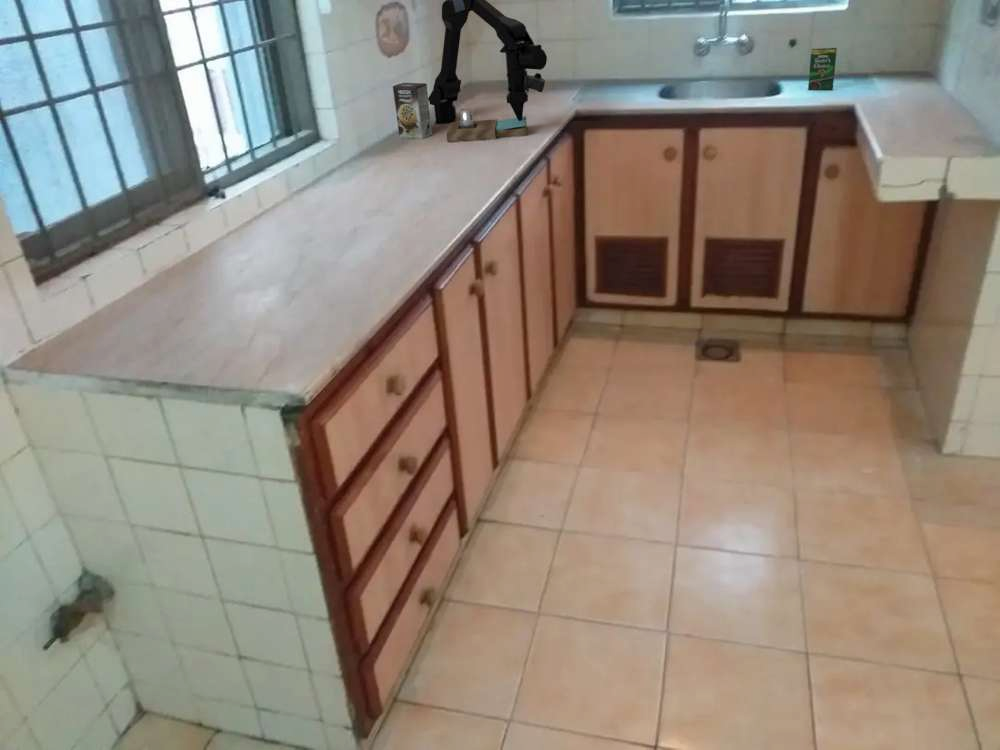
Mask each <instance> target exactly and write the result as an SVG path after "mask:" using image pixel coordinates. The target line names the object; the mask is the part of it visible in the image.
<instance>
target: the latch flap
mask: <svg viewBox="0 0 1000 750" xmlns="http://www.w3.org/2000/svg"><path fill="white" fill-rule="evenodd" d="M526 123H527V115H526V116H525V115H524V116H523V115H522V121H518V119H517V117H511V118H505V119H500V120H498V123H497V127H496V130H503V129H509V128H515V127H522V126H525V125H526Z"/></svg>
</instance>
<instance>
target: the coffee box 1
mask: <svg viewBox="0 0 1000 750" xmlns="http://www.w3.org/2000/svg"><path fill="white" fill-rule="evenodd" d="M392 89H393V90H392V91H393V98H394V108H395V115H396V120H397V129H398V137H399V139H412V138H415V139H416V138H418V139H416V140H424V139H426V138H427V136H428V137H430V136H432V135H433V132H432V124H431V123H432V122H431V113H430V103H429V100H428V98H429V95H428V94H429V93H428V84H427V83H424V82H423V83H422V82H420V83H419V82H401V83H398V84H395V85H393V86H392ZM429 135H430V136H429ZM425 137H426V138H425ZM423 138H424V139H423ZM415 139H414V140H415Z"/></svg>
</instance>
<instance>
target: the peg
mask: <svg viewBox="0 0 1000 750" xmlns="http://www.w3.org/2000/svg"><path fill="white" fill-rule="evenodd" d="M459 113H460V122H461V126H462V129H466V128H474V121H475V120H474V110H473V108H471V107H470V108H462V109H460V110H459Z"/></svg>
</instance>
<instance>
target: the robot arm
mask: <svg viewBox="0 0 1000 750" xmlns="http://www.w3.org/2000/svg"><path fill="white" fill-rule="evenodd" d="M471 11H472V12H473V13H474V14H475V15H477V16H478V17H479V18H481V19H482V20H483V21H484V22H485V23H487V24H488V25H489V26H490V27H492V29H494V30H495V33H496V36H497V38H498V40H500V42H501V43H502V44H503V46H502V48H501V49H500V50H499V52H500V53H503V54H505V63H506V78H507V92H508V93H507V94H506V103H507V104H509V105H510V107H511V108H512V111H513V112H514V115H515V118H517V119H518V121H522V117H523V115H524V114H523V113H524V104H525V103H526V102H528V101H529V94H528V93H529V92H530V90H534V91H537V92H538V93H543V90H544V87H545V84H546V80H545V79H544V78H543V77H542V73H538V72H536V73H535V74H534V75H529V74H528V71H527V70H537V71H538V70H540V71H541V70H543V69H544V68H545V67H546V65H547V62H548V56H547V54H546V51H545V50H544V49H543V48H542V44H535V42H534V41H533V38H532V37H531V36H530V34H529V32H528V30H527V27H526V25H525V24H524V23H523V22H521V21H519V20H517V19H516V18H511V17H508V16H506V15H505V14H503V13H502V12H501V11H500V10H498V9H497V8H496V7H495V6H493V5H492V4H491V3H490V2H489V1H487V0H445V1H443V2H442V4H441V20H442V23H443V25H444V27H445V32H444V39H443V49H442V57H441V67H440V71H439V72H438V75H437V76H436V78H435V80H434V84H433V89H432V91H431V93H430V95H428V102H429V106H433V108H434V115H435V122H434V124H435V125H436V124H448V123H449V124H451V122H456V119H457V111H456V110H457V107H456V105H454V102H457V101H458V97H459V93H460V92H461V85H462V80H461V79H459V76H458V75H457V67H458V57H459V50H460V41H461V34H462V29H463V27H464V26H465V24H466V22H467V21H468V17H469V14H470V12H471Z"/></svg>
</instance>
